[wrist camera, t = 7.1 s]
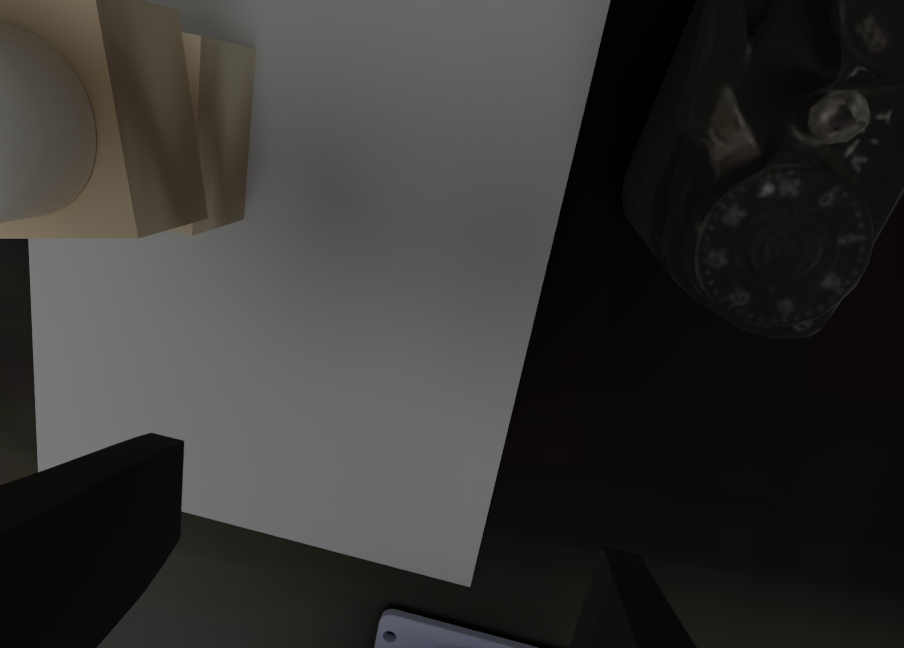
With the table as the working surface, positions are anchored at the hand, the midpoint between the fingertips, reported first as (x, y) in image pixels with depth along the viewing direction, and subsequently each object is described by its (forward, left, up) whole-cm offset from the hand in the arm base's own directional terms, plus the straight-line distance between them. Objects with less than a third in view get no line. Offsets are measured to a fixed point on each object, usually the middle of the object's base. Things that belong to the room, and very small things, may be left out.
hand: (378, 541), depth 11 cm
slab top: (+5, +10, -7) cm, 13 cm away
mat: (+1, +6, -10) cm, 12 cm away
